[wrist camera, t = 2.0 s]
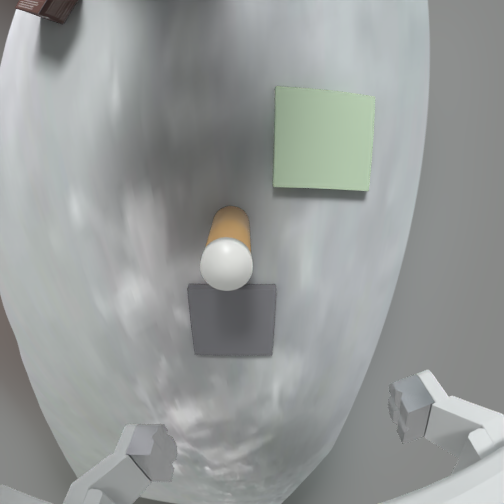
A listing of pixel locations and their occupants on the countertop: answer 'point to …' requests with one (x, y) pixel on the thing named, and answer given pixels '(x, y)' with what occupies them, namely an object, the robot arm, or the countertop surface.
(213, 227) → the pill bottle
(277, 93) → the tile
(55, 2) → the box
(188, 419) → the countertop surface
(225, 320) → the tile
